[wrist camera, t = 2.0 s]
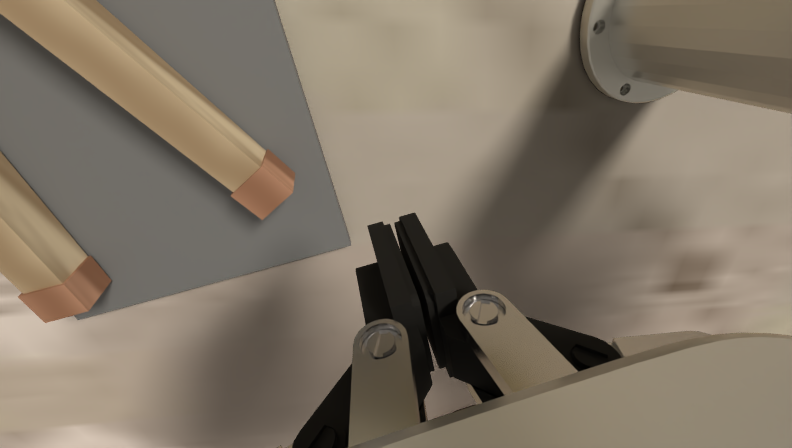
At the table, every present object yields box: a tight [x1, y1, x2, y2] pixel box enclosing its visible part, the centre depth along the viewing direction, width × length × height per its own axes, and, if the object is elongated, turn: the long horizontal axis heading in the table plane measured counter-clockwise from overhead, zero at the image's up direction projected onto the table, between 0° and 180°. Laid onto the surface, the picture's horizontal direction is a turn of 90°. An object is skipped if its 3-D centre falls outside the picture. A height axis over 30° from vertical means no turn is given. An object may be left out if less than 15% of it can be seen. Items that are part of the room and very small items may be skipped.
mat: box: [0, 0, 351, 320], centre depth 20 cm, size 22×32×1 cm
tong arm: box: [0, 0, 295, 220], centre depth 17 cm, size 6×27×4 cm, turn 39°
